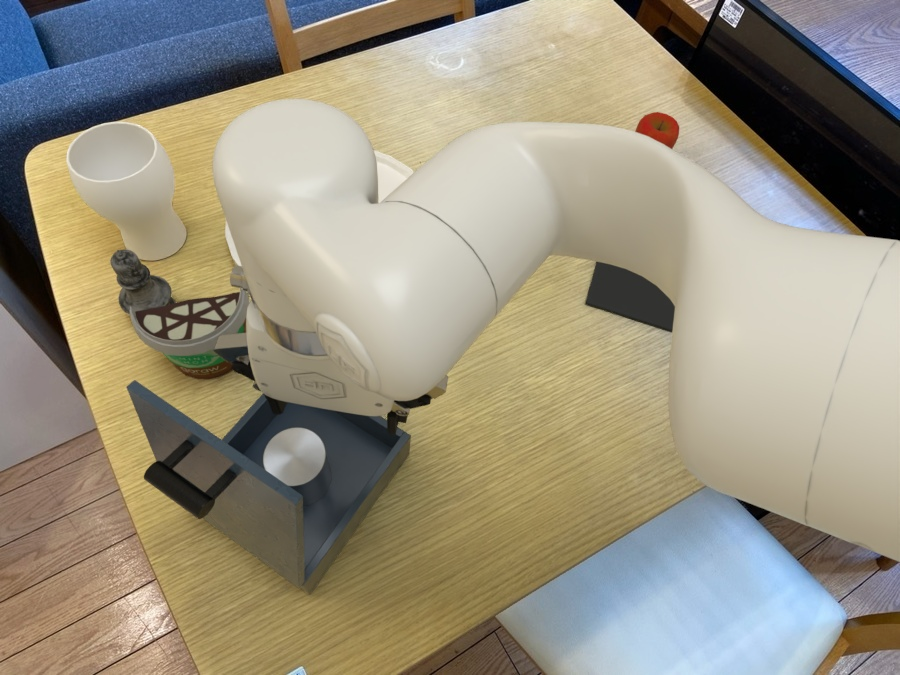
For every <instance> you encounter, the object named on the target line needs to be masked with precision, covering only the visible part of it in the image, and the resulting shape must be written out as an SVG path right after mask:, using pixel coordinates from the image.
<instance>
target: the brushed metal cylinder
mask: <svg viewBox="0 0 900 675" xmlns="http://www.w3.org/2000/svg"><path fill="white" fill-rule="evenodd" d="M263 465H264V468H265V470H266V471H267V472H269V473H270V474H272V475H273V476H275V477H276V478H278V479H279V480H281V481H282V482H283V483H285V484H286V485H288V486H289V487H291V488H292V489H294V490H295V491H296V492H298V493H299V494H301V495H302V496H303V506H306V505H310V504H312V503H314V502H316V501H318V500H319V499H321V498H322V497H323V496H324V495H325V493H326V492H327V491H328V489H329V487H330V484H331V478H332V473H331V468H330V465H329V461H328V457H327V453H326V449H325V446H324V443H323V441H322V440H321V438H320V437H319V436H318V435H317V434H316V433H314V432H313V431H311V430H308V429H305V428H289V429H286V430H283V431H281V432H280V433H278V434H277V435H275V436H274V437H273V438H272V439H271V440H270V441H269V443H268V444H267V446H266V448H265V451H264V455H263Z"/></svg>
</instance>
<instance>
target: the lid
mask: <svg viewBox="0 0 900 675" xmlns="http://www.w3.org/2000/svg"><path fill="white" fill-rule="evenodd" d="M126 390H127V392H128V395H129V398H130V400H131V402H132V404H133V407H134V410H135V412H136V415H137V417H138V420H139V422H140V424H141V427H142V429H143V432H144V434H145V437H146V439H147V441H148V445H149V447H150V450H151V452H152V454H153V457H154V459H155V461H154V462H153V463H152V464H150V465H149V466H148V467H147V469H146V470H145V472H144V474H143V480H144V481H146V482H147V483H149V485H151V486H152V487H154V488H155V489H156V490H158V491H160V492H161V493H162V494H164V495H165V496H166V497H168V498H169V499H170V500H171V501H173V502H174V503H176V504H177V505H179V506H180V507H181V508H183V509H184V511H187V513H189V514H190V515H192V516H193V517H195V518H196V519H198V520H201V519H203V520H204V521H205V522H207V523H208V524H209V525H211V526H212V527H214V528H215V529H216V530H218V531H219V532H221V534H223V535H225V536H226V537H227V538H229V539H230V540H231V541H233V542H234V543H236V544H237V545H238V546H240V547H241V548H242V549H244V550H245V551H247V552H248V553H249V554H251V555H252V556H253V557H255V558H256V559H257V560H259V561H260V562H262V564H264V565H266V566H267V567H269V568H270V569H271V570H272V571H274V572H275V573H276V574H278V575H280V576H281V577H282V578H284V580H286V581H287V582H289V583H290V584H292V585H293V586H294V587H296V588H297V589H300V587H301V586H302V585H303V583H304V582H305V573H304V529H303V496H302V495H301V494H299V493H298V492H296V491H295V490H294V489H292V488H291V487H289V486H288V485H286V484H285V483H283V482H282V481H281V480H279V479H278V478H276V477H275V476H273V475H272V474H270V473H269V472H267V471H266V470H265V469H263V468H262V467H260V466H259V465H257V464H256V463H254V462H253V461H252V460H250V459H249V458H247V457H246V456H244V455H243V454H241V453H240V452H238V451H237V450H236V449H234V448H233V447H231V446H230V445H228V444H227V443H225V442H224V441H223V440H222V438H219V437H218V436H217V435H215V434H214V433H212V432H211V431H210V430H208V429H207V428H205V427H203V425H201V424H199V423H198V422H197V421H195V420H194V419H192V418H191V417H189V416H188V415H186V414H185V413H183V411H181V410H179V409H178V408H176V407H175V406H173V405H172V404H171V403H169V402H167V401H166V400H165V399H163V398H162V397H161V396H159V395H158V394H156V393H155V392H153V391H151V390H150V389H148V388H147V387H146V386H145V385H144V384H142V383H140V382H139V381H138V380H135V379H133V381H131V382H130V383H129V384H127V385H126Z"/></svg>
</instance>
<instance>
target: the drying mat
mask: <svg viewBox="0 0 900 675" xmlns="http://www.w3.org/2000/svg"><path fill="white" fill-rule="evenodd" d="M584 305H586V306H589V307H591V308H594V309H599V310H601V311H604V312H608V313H610V314H614V315H617V316H620V317H622V318H627V319H629V320H633V321H635V322H639V323H642V324H645V325H648V326H651V327H655V328H657V329H661V330H663V331H667V332H670V333H672V330H673V321H674V312H675V306H674V304H673V303H672V301H671V300H670V298H669V297H668V296H667V295H666V294H665V293H664V292H662V291H661V290H660V289H659V288H658V287H657V286H656V285H655V284H653V283H652V282H650V281H649V280H647V279H646V278H644V277H643V276H641V275H638V274H636V273H634V272H632V271H629V270H627V269H624V268H621V267H618V266H614V265H611V264H607V263H602V262H596V261H595V266H594V269H593V272H592V277H591V280H590V284H589V289H588V292H587V296H586V300H585V303H584Z"/></svg>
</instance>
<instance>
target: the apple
mask: <svg viewBox="0 0 900 675" xmlns="http://www.w3.org/2000/svg"><path fill="white" fill-rule="evenodd" d="M635 132H637V133H640V134H643V135H646V136H649V137H651V138H652V139H654V140H656V141H658V142H660V143H662V144H664V145H666V146H667V147H669V148H671V149H673V148H674V147H675V145H676V143H677V142H678V139H679V136H680V125H679V123H678V121H677V120H676V119H675V118H674V117H673V116H671V115H669V114H667V113H663V112H660V111H654V112H650V113H647V114H644V116H643V117H642V118H641V119H640V120H639V122H638V123H637V125H636V128H635Z"/></svg>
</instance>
